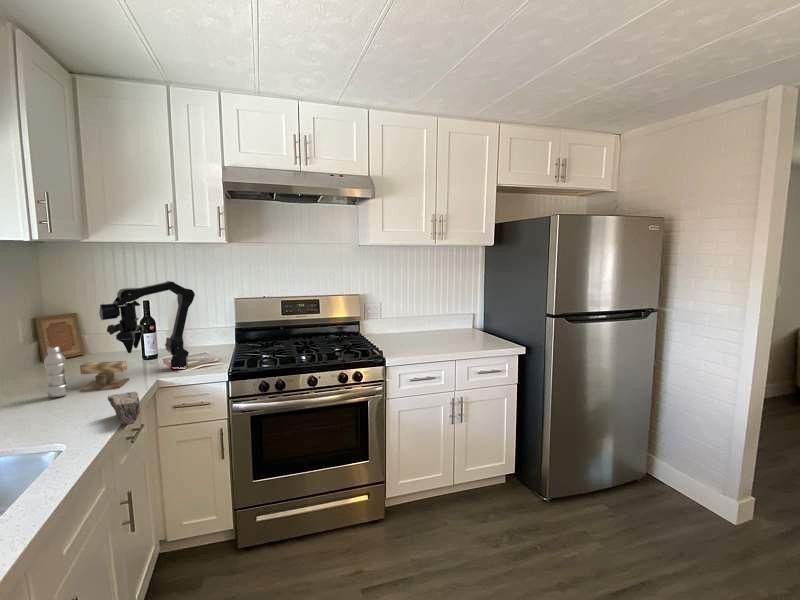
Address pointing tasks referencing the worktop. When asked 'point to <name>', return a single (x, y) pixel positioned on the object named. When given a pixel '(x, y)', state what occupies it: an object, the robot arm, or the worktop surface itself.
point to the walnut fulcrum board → (110, 386)
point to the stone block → (125, 406)
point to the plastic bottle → (55, 373)
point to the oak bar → (103, 367)
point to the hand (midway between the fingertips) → (132, 350)
